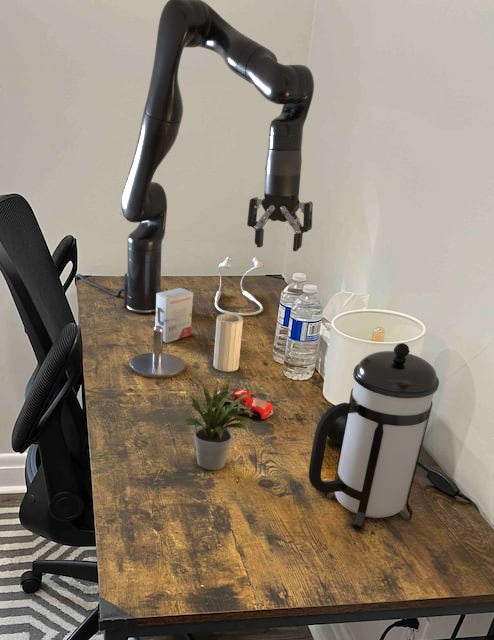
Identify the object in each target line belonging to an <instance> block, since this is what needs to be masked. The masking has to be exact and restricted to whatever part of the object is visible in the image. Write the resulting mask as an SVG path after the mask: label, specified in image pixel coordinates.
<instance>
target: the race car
mask: <svg viewBox="0 0 494 640" xmlns="http://www.w3.org/2000/svg"><path fill="white" fill-rule="evenodd" d="M236 388H237V387H236ZM236 388H235V387H228V394H229V393H230V392H231V391H233V390H234V389H236ZM221 389H222V388H220V389H218V390H217V396H218V395H219V393H220V391H221ZM247 394H251V395H249V396H247V397H245V398H243V399H242V400H241V401H240V402H239V403H238V404H237V405H236V406H234V407H239V406H240V407H246V408H249V409H244V408H235V409H237V410H240V411H247V412H250V413H253V414H256V415H253V414H248V413H242V414H241V415H243V416H247V417H250V418H253V419H254V420H255V421H260V420H264V419H265V420H266V419H268V418H270V417H272V416H273V415H274V407H273V405H272V403H270V402H268V401H266V400H264V399H262V398H261V397H260V398H259V396H258V394H254V393H253V392H251V391H248V390H246V389H242V388H237V389H236V390H235V391H234V392H233V393H232V394H231V395H230V396H229V397H228V399H227V400H226V402H225V403H224V404H223V407H224V406H227V405H230V404H232V403H233V402H234V401H235V400H237V399H238V398H239V397H241V396H243V395H247ZM227 407H228V406H227ZM227 407H226V408H225V410H226V409H227ZM235 409H231V410H230V411H232V410H235ZM230 411H229V412H230Z"/></svg>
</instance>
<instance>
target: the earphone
mask: <svg viewBox="0 0 494 640" xmlns="http://www.w3.org/2000/svg"><path fill="white" fill-rule="evenodd" d="M232 261H233V259H232V257H231V256H227V257H225V260H224V261H223V262H221V263H219V264H218V273H219V279H220V282H219V288H218V290H217V291H216V294H215V297H214V301H215V302H214V307H215V308H216V310H217V311H218V312H220V313H221V314H236V315H239V316H241V317H243V316H255V315H259V314H261V313H262V312H263V310H264V307H263V304H262V303H261V302H260V301H259V300H258V299H256V298H255V296H254V295H253V294H251V293H250V292H248V291H247V290H244V289H243V280H244V278H245V276H246V275H247V274H248V273H249V272H250V271H252V270H254V269H256V270H258V269H260V268H262V267H264V266H265V264H264V263H263V262H262V261H261V259H259V257H258V256H254V257H253V258H252V263H254V267H251V268H250V269H249V270H247V271H246V272H245V273H244V274H243V276H242V277H241V280H240V289H241V292H242V295H243V296H244V297H246V298H247V299H248V300H250V301H252V302H254V303H256V305H258V306H259V309H258V310H257V311H251V312H233V311H227V310H224V309H222V308H221V307H219V305H218V303H219V301H220V298H221V296H222V291H221V290H222V289H221V288H222V274H221V270H220V268H225V269H228V270H229V269H230V268H231V263H232Z"/></svg>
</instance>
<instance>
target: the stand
mask: <svg viewBox="0 0 494 640" xmlns="http://www.w3.org/2000/svg"><path fill="white" fill-rule="evenodd" d="M152 341H153V344H152V349H153V350H152V352H147V353H142V354H138V355H135V356H134V357H133V358H131V360H130V361H129V369H130V370H131V371H132V372H133V373H135V375H139V376H140V377H141V376H142V377H145V378H151V379H167V378H172V377H176V376H179V375H181V374H182V373H183V372H184V371H185V370H186V363H185V362H184V360H183V359H182V358H180V356H179V357H178V356H176V355H175V354H170V353H165V352H163V351H164V350H163V349H164V341H163V328H162V327H161V326H156V327H155V326H154V328H153V339H152Z"/></svg>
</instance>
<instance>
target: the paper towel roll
mask: <svg viewBox="0 0 494 640" xmlns="http://www.w3.org/2000/svg"><path fill="white" fill-rule="evenodd" d="M215 323H216V325H215V336H214V338H215V339H214V348H213V349H214V351H213V352H214V353H213V364H212V365H213V368H214V369H215V370H218V371H220V372H236V371H237V370H239V367H240V357H241V347H242V335H243V325H244V318H243V316H240V315H236V314H225V313H221V314H218V315H217V316H216V322H215Z"/></svg>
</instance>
